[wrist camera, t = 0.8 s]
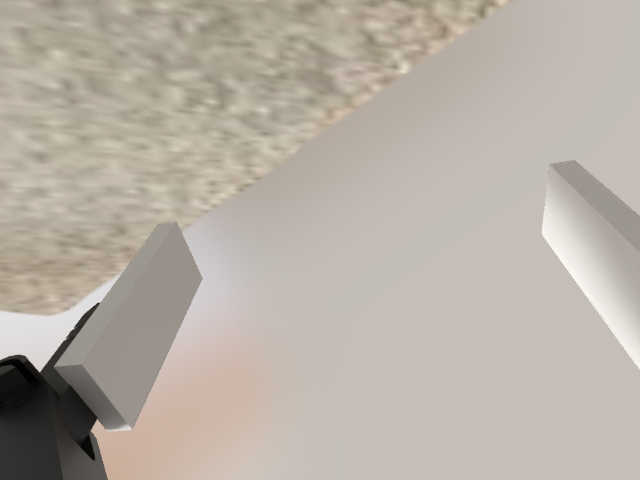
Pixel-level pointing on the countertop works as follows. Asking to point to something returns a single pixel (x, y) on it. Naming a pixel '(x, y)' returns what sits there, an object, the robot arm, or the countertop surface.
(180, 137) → the countertop surface
